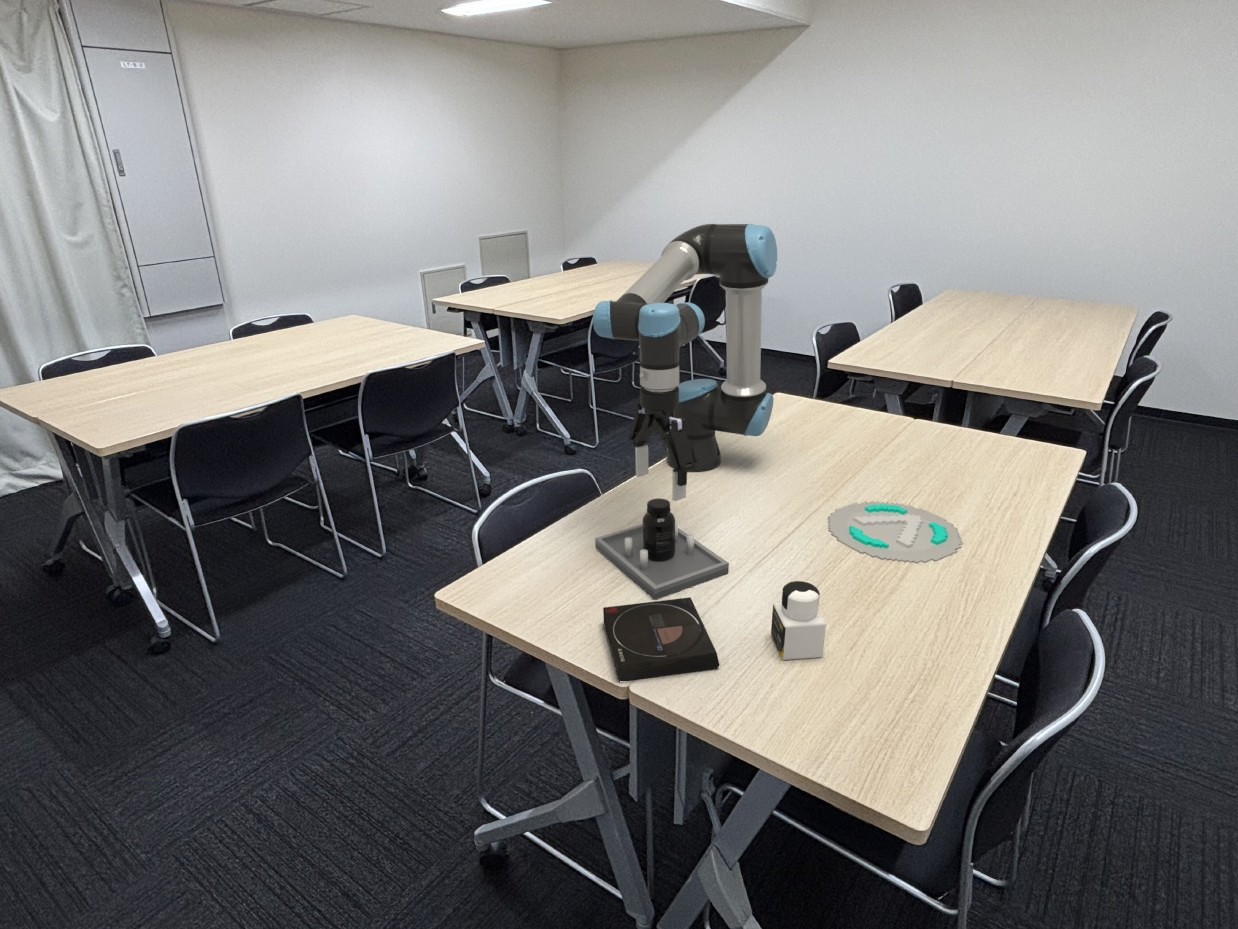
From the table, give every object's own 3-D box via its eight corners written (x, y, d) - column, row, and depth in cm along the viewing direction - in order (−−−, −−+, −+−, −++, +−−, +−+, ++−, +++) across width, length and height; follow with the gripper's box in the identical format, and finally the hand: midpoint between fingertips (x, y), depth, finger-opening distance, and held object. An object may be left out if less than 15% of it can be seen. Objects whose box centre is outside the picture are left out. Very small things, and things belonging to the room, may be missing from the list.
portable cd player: (719, 671, 119) (720, 651, 117) (618, 684, 116) (618, 664, 115) (693, 614, 134) (693, 596, 132) (603, 625, 131) (603, 607, 130)
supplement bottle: (678, 548, 153) (679, 498, 148) (670, 564, 147) (670, 512, 142) (648, 543, 155) (647, 494, 150) (638, 559, 149) (638, 508, 144)
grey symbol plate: (987, 541, 157) (988, 534, 156) (901, 578, 144) (902, 571, 143) (885, 495, 179) (885, 489, 178) (802, 523, 166) (803, 517, 165)
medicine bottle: (770, 635, 127) (774, 577, 122) (809, 632, 127) (815, 575, 122) (781, 661, 120) (786, 601, 115) (823, 658, 120) (829, 598, 116)
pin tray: (595, 548, 157) (594, 526, 154) (663, 527, 165) (663, 505, 163) (654, 600, 138) (654, 575, 135) (728, 573, 146) (729, 550, 144)
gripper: (610, 374, 144) (613, 469, 153) (680, 407, 124) (680, 514, 133) (641, 368, 148) (642, 462, 156) (715, 399, 128) (712, 504, 136)
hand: (660, 486), depth 145 cm, fingers open, 13 cm apart
